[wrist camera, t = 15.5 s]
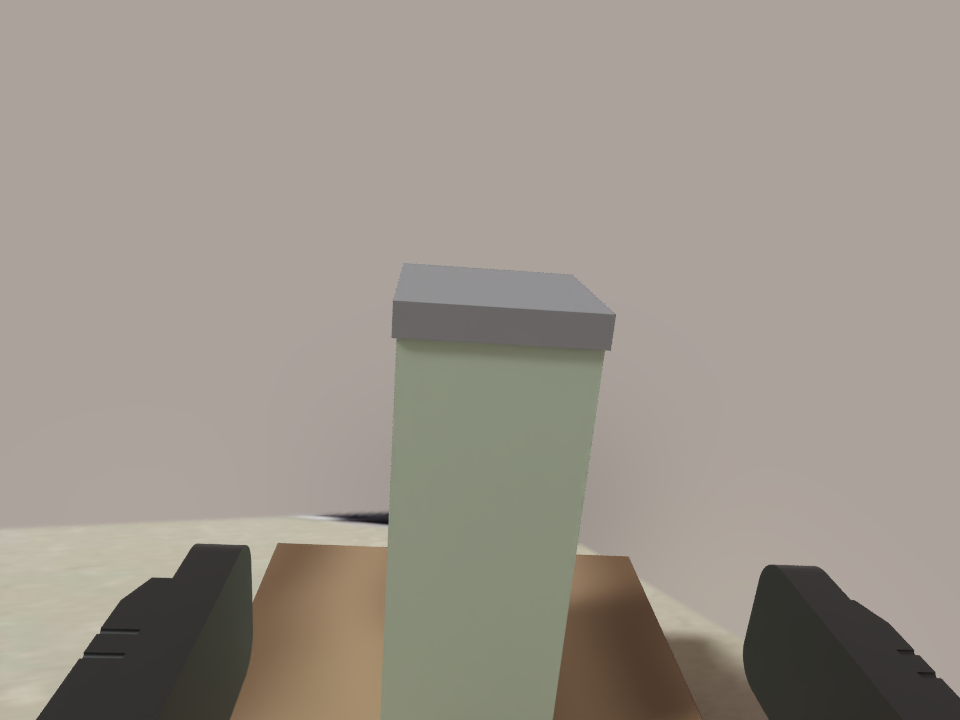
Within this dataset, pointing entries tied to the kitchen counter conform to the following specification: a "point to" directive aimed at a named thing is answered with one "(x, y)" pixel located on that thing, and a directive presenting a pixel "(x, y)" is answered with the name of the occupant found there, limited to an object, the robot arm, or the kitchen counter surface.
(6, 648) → the kitchen counter surface
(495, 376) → the green tin canister
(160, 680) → the robot arm
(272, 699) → the walnut block
